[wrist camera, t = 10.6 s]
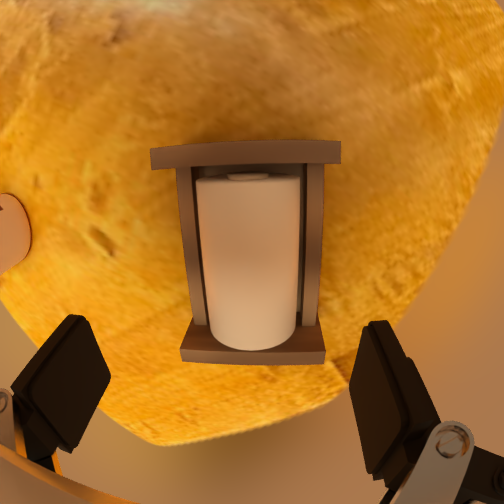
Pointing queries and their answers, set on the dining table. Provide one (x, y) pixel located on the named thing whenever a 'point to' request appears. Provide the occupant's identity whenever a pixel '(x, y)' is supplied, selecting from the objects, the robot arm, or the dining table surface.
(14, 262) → the milk bottle
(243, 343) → the roll
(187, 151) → the cradle
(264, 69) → the dining table surface
